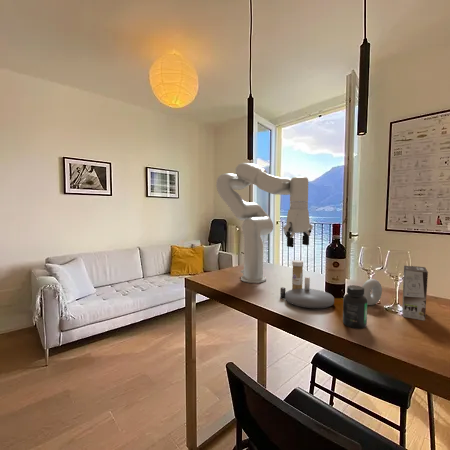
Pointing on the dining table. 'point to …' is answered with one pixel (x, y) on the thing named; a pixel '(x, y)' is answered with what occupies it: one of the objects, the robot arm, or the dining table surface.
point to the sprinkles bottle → (297, 274)
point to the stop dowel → (282, 293)
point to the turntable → (309, 297)
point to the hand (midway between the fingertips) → (298, 245)
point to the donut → (376, 291)
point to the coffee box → (414, 292)
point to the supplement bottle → (355, 307)
